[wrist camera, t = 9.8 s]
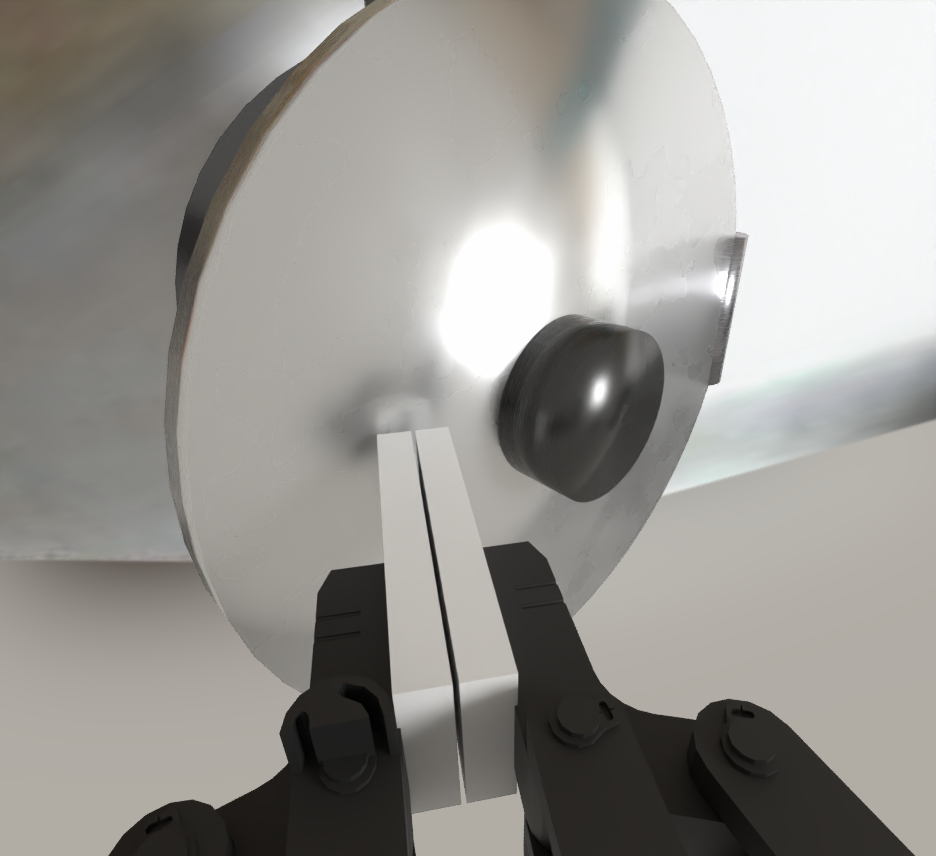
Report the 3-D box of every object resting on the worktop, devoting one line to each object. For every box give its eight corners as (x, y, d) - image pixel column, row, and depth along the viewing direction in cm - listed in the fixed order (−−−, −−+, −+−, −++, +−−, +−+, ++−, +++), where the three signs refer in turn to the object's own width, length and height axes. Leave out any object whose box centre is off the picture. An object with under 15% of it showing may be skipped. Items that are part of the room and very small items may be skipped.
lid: (754, -1, 20) (867, -18, 17) (670, 501, 30) (734, 531, 28) (-59, -137, 7) (-28, -261, 5) (278, 812, 17) (338, 914, 15)
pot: (644, -26, 28) (804, -105, 18) (602, 434, 41) (682, 545, 31) (178, -20, 26) (51, -106, 15) (288, 469, 38) (258, 602, 28)
